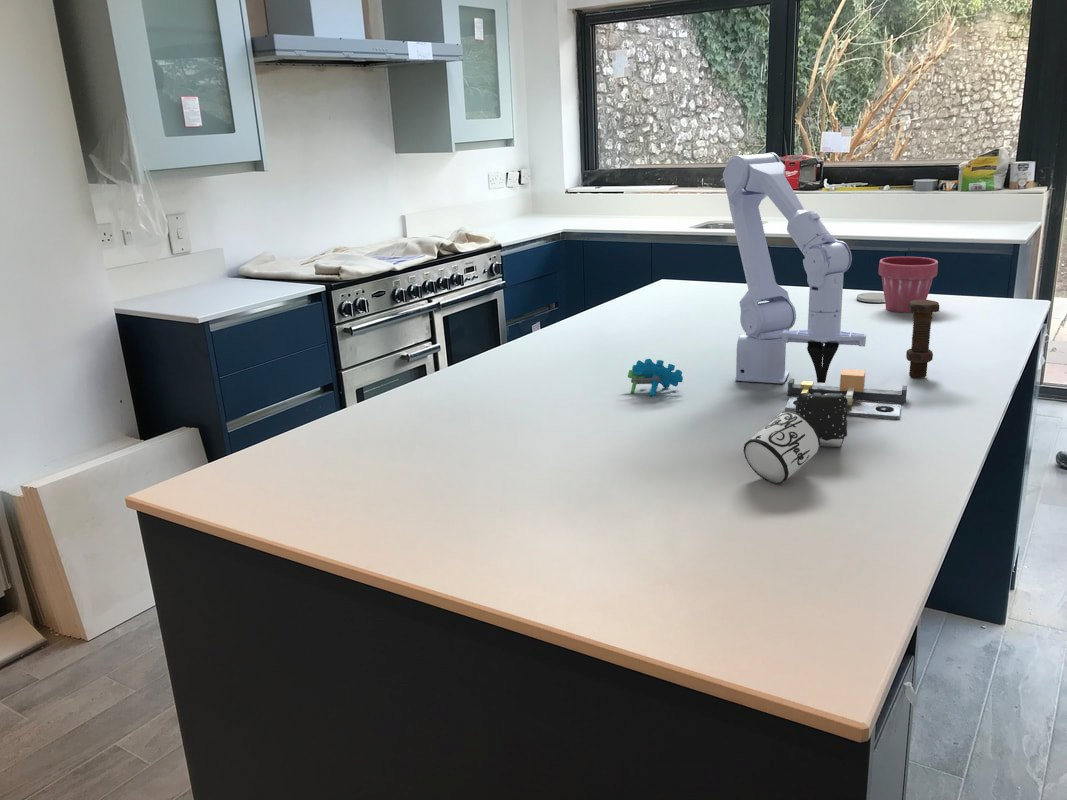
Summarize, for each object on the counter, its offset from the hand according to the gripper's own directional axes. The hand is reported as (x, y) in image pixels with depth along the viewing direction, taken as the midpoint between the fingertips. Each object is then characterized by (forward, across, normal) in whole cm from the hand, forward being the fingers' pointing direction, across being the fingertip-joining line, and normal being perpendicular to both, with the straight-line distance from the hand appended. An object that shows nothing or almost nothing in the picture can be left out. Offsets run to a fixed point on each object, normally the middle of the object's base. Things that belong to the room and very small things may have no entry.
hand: (821, 381), depth 164 cm
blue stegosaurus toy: (+3, -31, -5) cm, 31 cm away
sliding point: (+2, +5, -3) cm, 6 cm away
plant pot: (+3, +12, +82) cm, 82 cm away
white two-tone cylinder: (+3, 0, -35) cm, 35 cm away
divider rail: (+3, +4, -3) cm, 6 cm away
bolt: (+3, +16, +17) cm, 24 cm away
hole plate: (+3, +4, -7) cm, 9 cm away
